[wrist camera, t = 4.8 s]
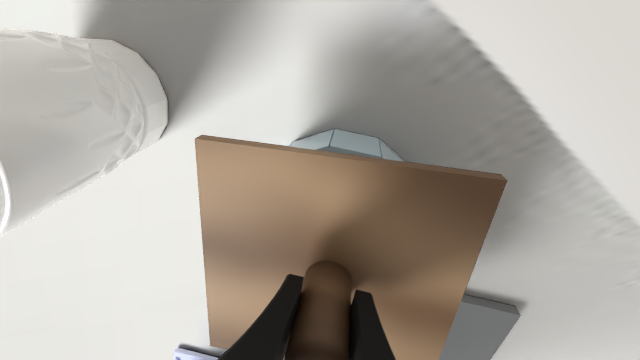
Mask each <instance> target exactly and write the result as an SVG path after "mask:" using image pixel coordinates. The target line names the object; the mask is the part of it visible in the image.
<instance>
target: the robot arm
mask: <svg viewBox="0 0 640 360" xmlns="http://www.w3.org/2000/svg"><path fill="white" fill-rule="evenodd" d="M303 279H304V277H301V276H297V275H293V274H288V275H287V276H286V278H285V280H284V282H283V284H282V285H281V287H280V288H279V290H278V292H277V293H276V294H275V296H274V297H273V299H272V300H271V301H270V303H269V304H268V305H267V307H266V308H265V309H264V311H263V312H262V313H261V314H260V316H259V317H258V318H257V319H256V320H255V321H254V323H253V324H252V325H251V326H250V327H249V328H248V329H247V331H246V332H245V333H244V334H243V335H242V336H241V337H240V338H239V339H238V340H237V341H236V342H235V343H234V344H233V345H232V346H231V347H230V348H229V349H228V350H227V351H226V352H225V353H224V354H223V355H222V356H220V357H219V358H217V357H213V356H209V355H205V354H201V353H197V352H193V351H189V350H185V349H181V348H176V349H175V351H174V352H173V358H174V360H283V358H284V355H285V352H286V348H287V344H288V340H289V336H290V332H291V328H292V324H293V320H294V317H295V314H296V310H297V306H298V302H299V298H300V294H301V289H302V284H303ZM349 360H396V359H395V356H394V354H393V352H392V350H391V347H390V345H389V342H388V340H387V337H386V335H385V332H384V330H383V327H382V324H381V321H380V319H379V316H378V313H377V310H376V306H375V303H374V299H373V296H372V294H371V293H369V292H365V291H361V290H357V289H356V291H355V294H354V298H353V301H352V304H351V316H350V342H349Z"/></svg>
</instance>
